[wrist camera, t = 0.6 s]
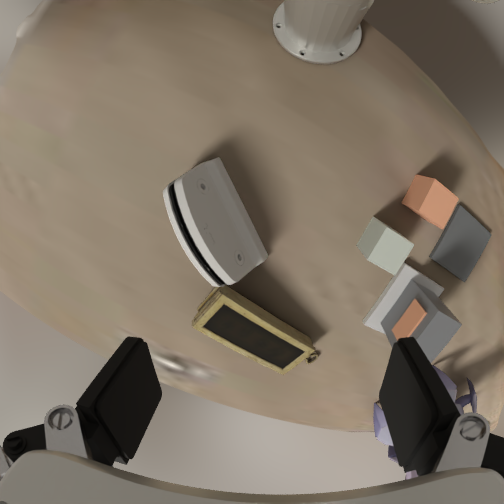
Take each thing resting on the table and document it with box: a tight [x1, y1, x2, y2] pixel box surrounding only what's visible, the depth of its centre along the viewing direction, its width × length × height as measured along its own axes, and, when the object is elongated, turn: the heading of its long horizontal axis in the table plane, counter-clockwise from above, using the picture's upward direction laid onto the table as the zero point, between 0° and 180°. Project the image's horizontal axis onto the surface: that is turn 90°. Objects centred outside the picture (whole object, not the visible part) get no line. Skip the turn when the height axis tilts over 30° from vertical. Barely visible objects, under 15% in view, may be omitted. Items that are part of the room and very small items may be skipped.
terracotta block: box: [402, 175, 459, 229], centre depth 34 cm, size 5×5×6 cm
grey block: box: [356, 217, 414, 275], centre depth 37 cm, size 5×5×6 cm
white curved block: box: [163, 157, 268, 287], centre depth 37 cm, size 17×5×10 cm, turn 26°
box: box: [192, 285, 318, 375], centre depth 45 cm, size 8×22×5 cm, turn 52°
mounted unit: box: [363, 262, 462, 363], centre depth 37 cm, size 12×10×11 cm
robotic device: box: [373, 365, 477, 480], centre depth 37 cm, size 26×25×30 cm
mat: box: [429, 204, 491, 282], centre depth 37 cm, size 10×10×1 cm
